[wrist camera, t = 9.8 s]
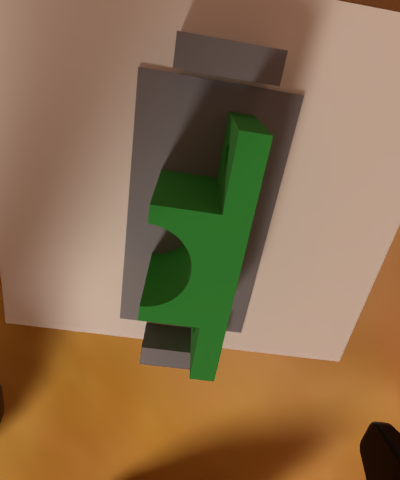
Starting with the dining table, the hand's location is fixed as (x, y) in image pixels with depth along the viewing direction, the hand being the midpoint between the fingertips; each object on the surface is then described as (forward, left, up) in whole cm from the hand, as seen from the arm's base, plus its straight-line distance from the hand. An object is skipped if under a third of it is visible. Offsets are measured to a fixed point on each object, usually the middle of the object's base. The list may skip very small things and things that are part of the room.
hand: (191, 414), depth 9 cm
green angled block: (0, 0, -11) cm, 11 cm away
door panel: (0, +1, -12) cm, 12 cm away
